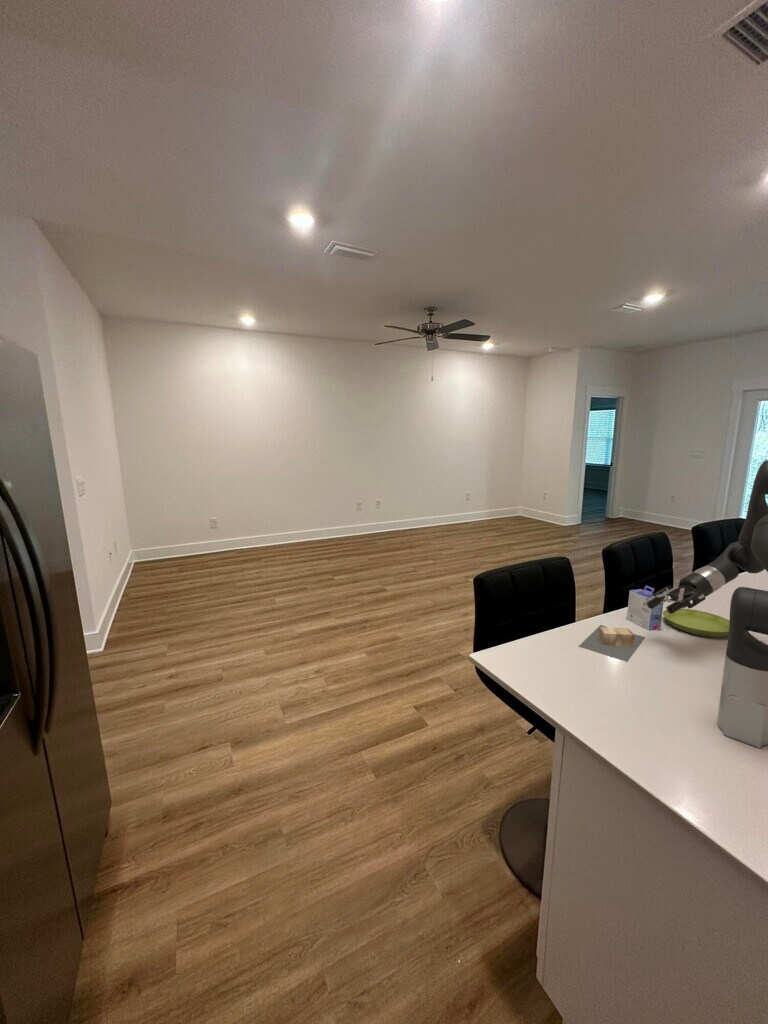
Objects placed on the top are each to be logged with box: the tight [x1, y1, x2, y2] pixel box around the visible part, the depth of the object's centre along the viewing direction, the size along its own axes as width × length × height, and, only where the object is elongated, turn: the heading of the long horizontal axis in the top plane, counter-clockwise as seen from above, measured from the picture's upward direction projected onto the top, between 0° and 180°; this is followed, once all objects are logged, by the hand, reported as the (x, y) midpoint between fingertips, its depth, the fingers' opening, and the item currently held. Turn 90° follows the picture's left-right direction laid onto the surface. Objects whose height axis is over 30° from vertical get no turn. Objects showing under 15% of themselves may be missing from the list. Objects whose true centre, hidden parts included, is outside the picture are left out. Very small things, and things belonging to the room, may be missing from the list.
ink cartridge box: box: [625, 584, 665, 632], centre depth 146 cm, size 10×6×14 cm, turn 15°
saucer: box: [662, 608, 730, 638], centre depth 146 cm, size 21×21×3 cm
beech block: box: [598, 626, 635, 647], centre depth 134 cm, size 4×5×9 cm
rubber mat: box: [578, 624, 646, 663], centre depth 135 cm, size 22×14×1 cm, turn 136°
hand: (658, 608), depth 125 cm, fingers open, 8 cm apart
